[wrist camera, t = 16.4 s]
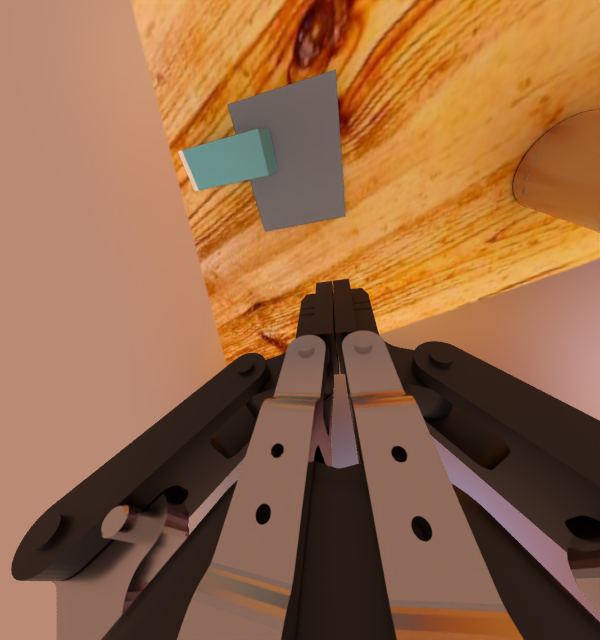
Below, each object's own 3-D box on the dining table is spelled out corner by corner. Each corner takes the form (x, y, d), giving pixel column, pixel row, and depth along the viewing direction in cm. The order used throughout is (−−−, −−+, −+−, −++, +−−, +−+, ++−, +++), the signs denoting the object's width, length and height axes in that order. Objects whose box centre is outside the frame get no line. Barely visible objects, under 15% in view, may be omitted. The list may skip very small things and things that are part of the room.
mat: (335, 71, 22) (335, 69, 22) (345, 215, 31) (345, 216, 30) (229, 105, 25) (227, 104, 24) (265, 230, 33) (265, 231, 33)
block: (257, 128, 22) (177, 151, 25) (268, 175, 24) (194, 191, 27) (269, 128, 25) (196, 149, 27) (278, 170, 27) (210, 185, 30)
